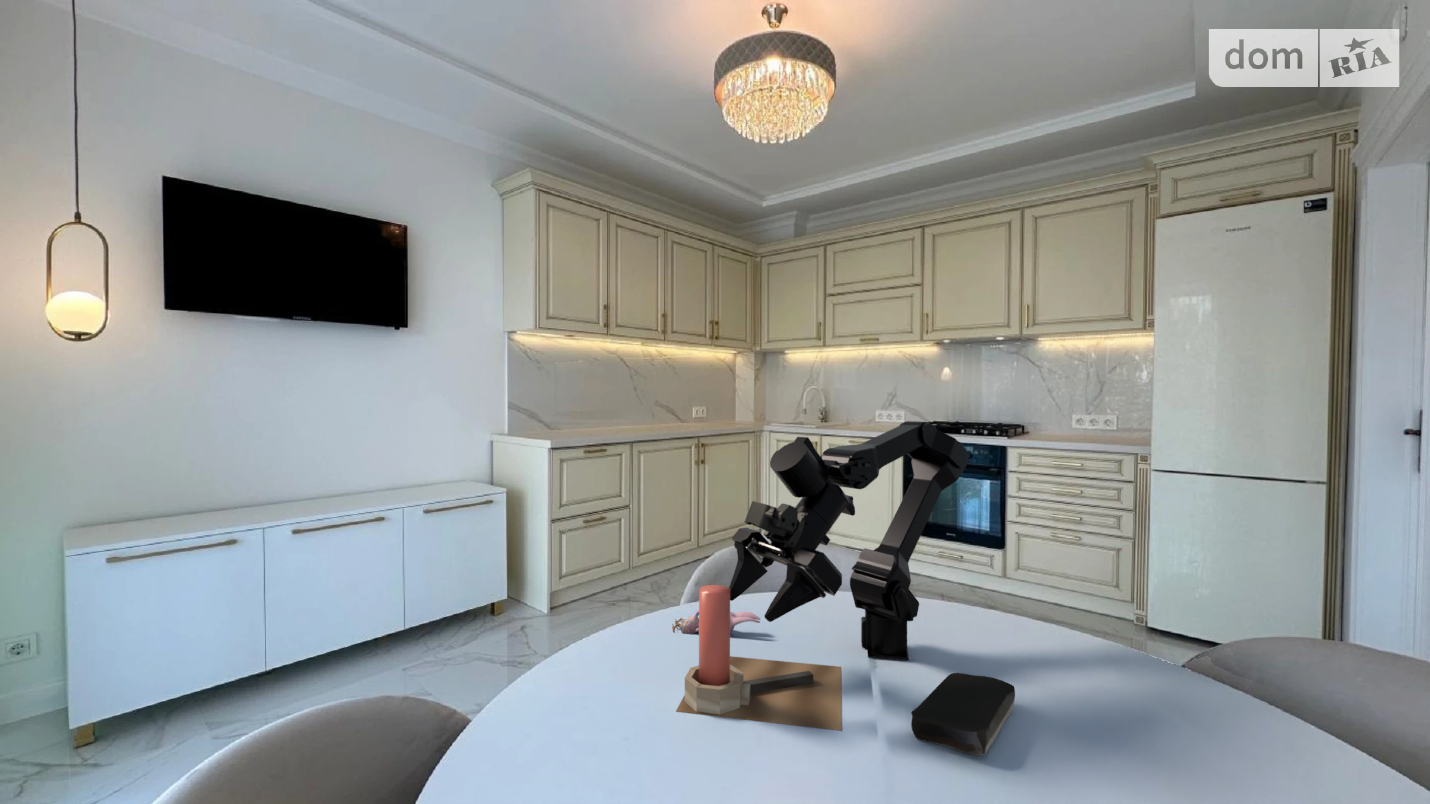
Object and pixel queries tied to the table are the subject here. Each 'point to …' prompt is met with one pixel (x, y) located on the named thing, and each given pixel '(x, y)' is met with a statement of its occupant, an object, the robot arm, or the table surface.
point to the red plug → (714, 635)
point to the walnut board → (770, 693)
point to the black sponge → (964, 712)
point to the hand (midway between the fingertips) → (746, 608)
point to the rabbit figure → (692, 622)
